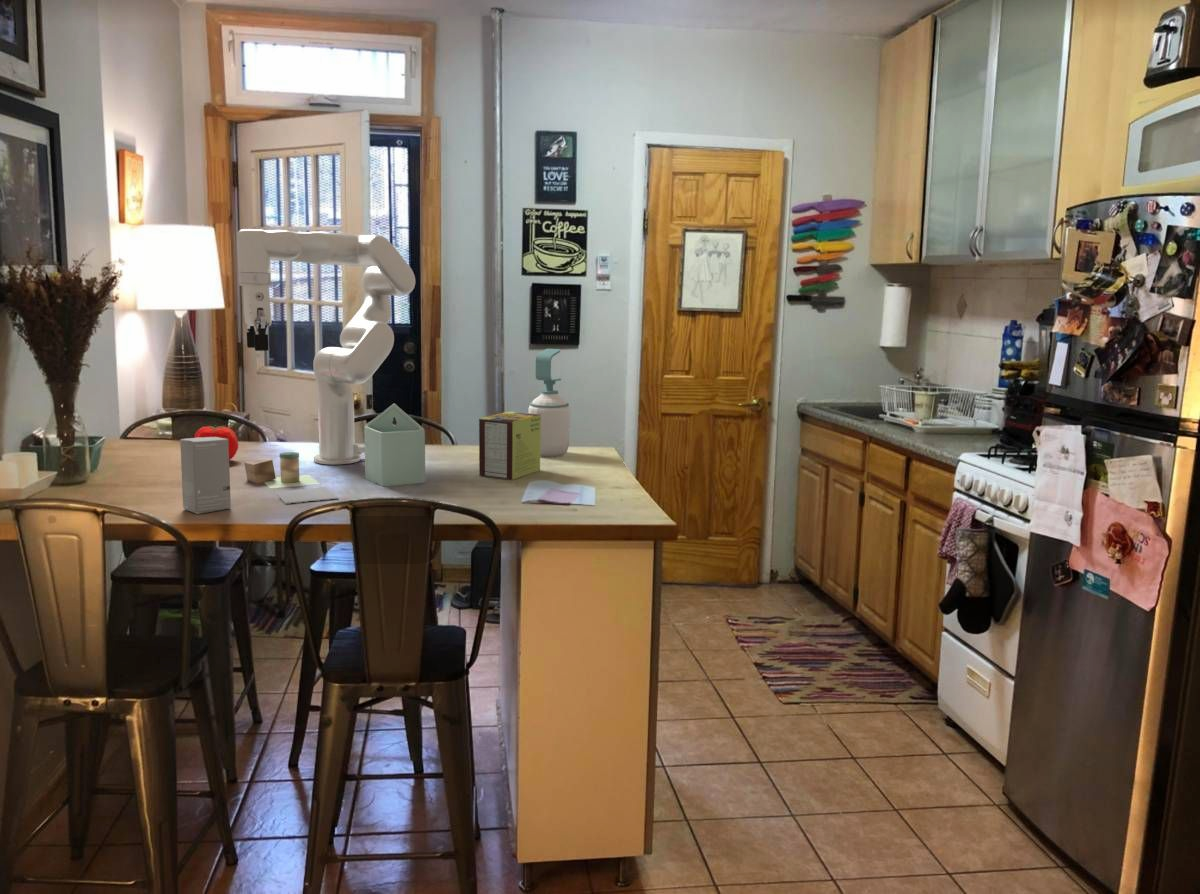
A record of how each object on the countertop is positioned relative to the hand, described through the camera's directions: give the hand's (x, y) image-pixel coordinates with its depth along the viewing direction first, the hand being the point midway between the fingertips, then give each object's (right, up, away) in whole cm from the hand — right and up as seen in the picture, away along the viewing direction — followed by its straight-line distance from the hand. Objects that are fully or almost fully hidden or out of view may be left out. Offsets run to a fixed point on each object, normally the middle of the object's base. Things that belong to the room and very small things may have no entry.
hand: (257, 349), depth 238 cm
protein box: (+62, -32, +15) cm, 72 cm away
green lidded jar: (+9, -33, -3) cm, 35 cm away
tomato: (-18, -29, +19) cm, 40 cm away
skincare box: (0, -39, -30) cm, 49 cm away
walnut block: (+2, -33, -3) cm, 33 cm away
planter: (+33, -34, -1) cm, 48 cm away
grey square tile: (+17, -36, -17) cm, 44 cm away
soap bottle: (+71, -27, +43) cm, 87 cm away
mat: (+9, -34, -3) cm, 35 cm away
